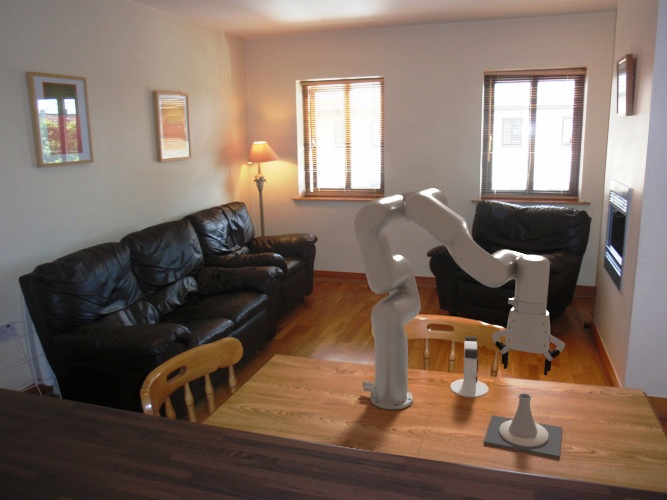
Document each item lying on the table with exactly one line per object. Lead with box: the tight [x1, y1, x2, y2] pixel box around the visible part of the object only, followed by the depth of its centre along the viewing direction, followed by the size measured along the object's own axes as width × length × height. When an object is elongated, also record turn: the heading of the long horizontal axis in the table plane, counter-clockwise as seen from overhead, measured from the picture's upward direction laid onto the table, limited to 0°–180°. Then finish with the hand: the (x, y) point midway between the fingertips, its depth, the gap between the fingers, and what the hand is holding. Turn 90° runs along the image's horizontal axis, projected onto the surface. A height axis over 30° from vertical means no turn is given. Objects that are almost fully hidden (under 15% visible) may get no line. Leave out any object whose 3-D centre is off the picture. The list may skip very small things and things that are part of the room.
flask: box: [509, 392, 538, 438], centre depth 148 cm, size 7×7×10 cm
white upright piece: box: [449, 336, 489, 398], centre depth 174 cm, size 12×11×15 cm
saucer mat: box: [483, 414, 563, 460], centre depth 149 cm, size 18×14×2 cm
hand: (525, 369), depth 145 cm, fingers open, 9 cm apart
